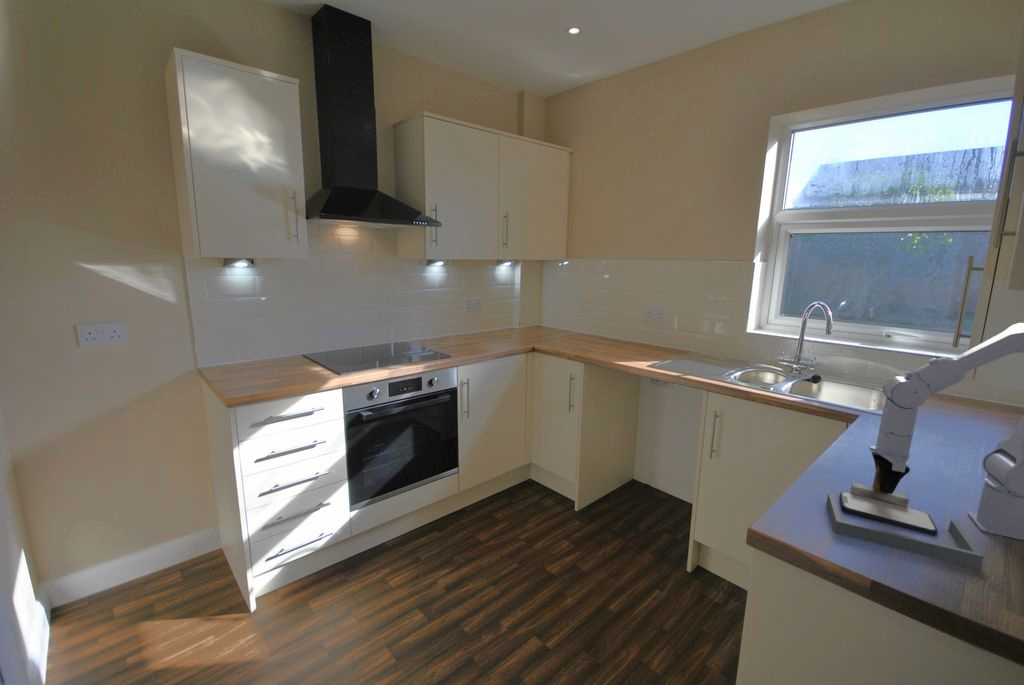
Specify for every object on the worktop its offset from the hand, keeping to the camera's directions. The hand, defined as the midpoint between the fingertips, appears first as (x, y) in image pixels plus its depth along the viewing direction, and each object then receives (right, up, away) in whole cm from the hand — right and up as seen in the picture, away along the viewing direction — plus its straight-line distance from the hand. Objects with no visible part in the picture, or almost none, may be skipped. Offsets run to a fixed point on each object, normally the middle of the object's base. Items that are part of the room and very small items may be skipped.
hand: (884, 488), depth 105 cm
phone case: (-3, -5, -3) cm, 7 cm away
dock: (-6, -6, -10) cm, 13 cm away
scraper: (0, -4, +1) cm, 4 cm away
